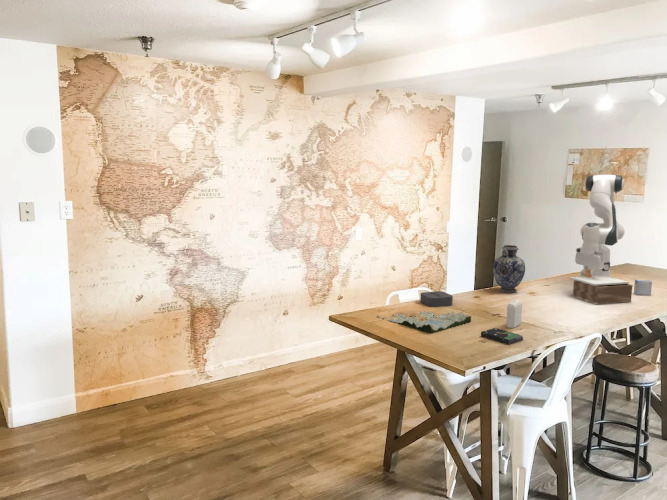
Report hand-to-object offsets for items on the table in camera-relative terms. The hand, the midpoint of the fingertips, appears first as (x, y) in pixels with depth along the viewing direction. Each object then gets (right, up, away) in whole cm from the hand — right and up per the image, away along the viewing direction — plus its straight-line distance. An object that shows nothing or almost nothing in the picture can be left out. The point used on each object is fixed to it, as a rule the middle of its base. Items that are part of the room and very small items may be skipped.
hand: (588, 273), depth 311 cm
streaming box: (-93, -16, -17) cm, 96 cm away
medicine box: (+33, -13, +2) cm, 35 cm away
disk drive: (-77, -25, -79) cm, 113 cm away
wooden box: (+3, -14, -9) cm, 17 cm away
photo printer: (-65, -22, -60) cm, 91 cm away
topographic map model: (-106, -21, -50) cm, 119 cm away
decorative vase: (-44, -11, +12) cm, 47 cm away
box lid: (+2, -4, -8) cm, 9 cm away
